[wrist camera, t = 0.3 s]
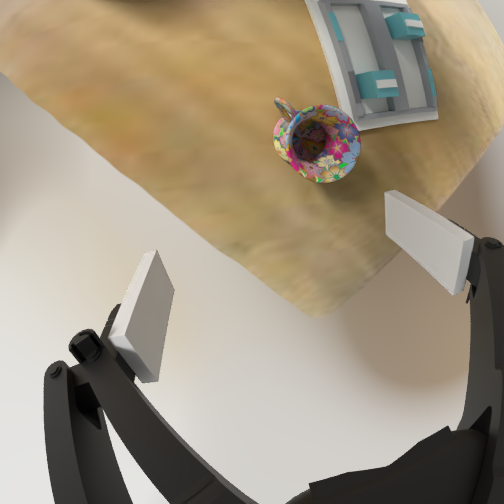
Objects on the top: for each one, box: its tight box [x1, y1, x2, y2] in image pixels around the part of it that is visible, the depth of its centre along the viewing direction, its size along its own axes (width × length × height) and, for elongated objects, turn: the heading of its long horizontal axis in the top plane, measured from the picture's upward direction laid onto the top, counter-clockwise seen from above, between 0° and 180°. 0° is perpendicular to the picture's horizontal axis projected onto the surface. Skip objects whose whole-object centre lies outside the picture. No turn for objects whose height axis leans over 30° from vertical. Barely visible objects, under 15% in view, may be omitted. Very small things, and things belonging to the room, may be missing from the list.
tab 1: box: [355, 70, 399, 99], centre depth 31 cm, size 4×4×6 cm
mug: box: [273, 97, 361, 183], centre depth 33 cm, size 12×9×11 cm
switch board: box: [304, 0, 438, 131], centre depth 31 cm, size 24×20×3 cm
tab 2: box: [385, 12, 425, 40], centre depth 26 cm, size 4×4×6 cm
